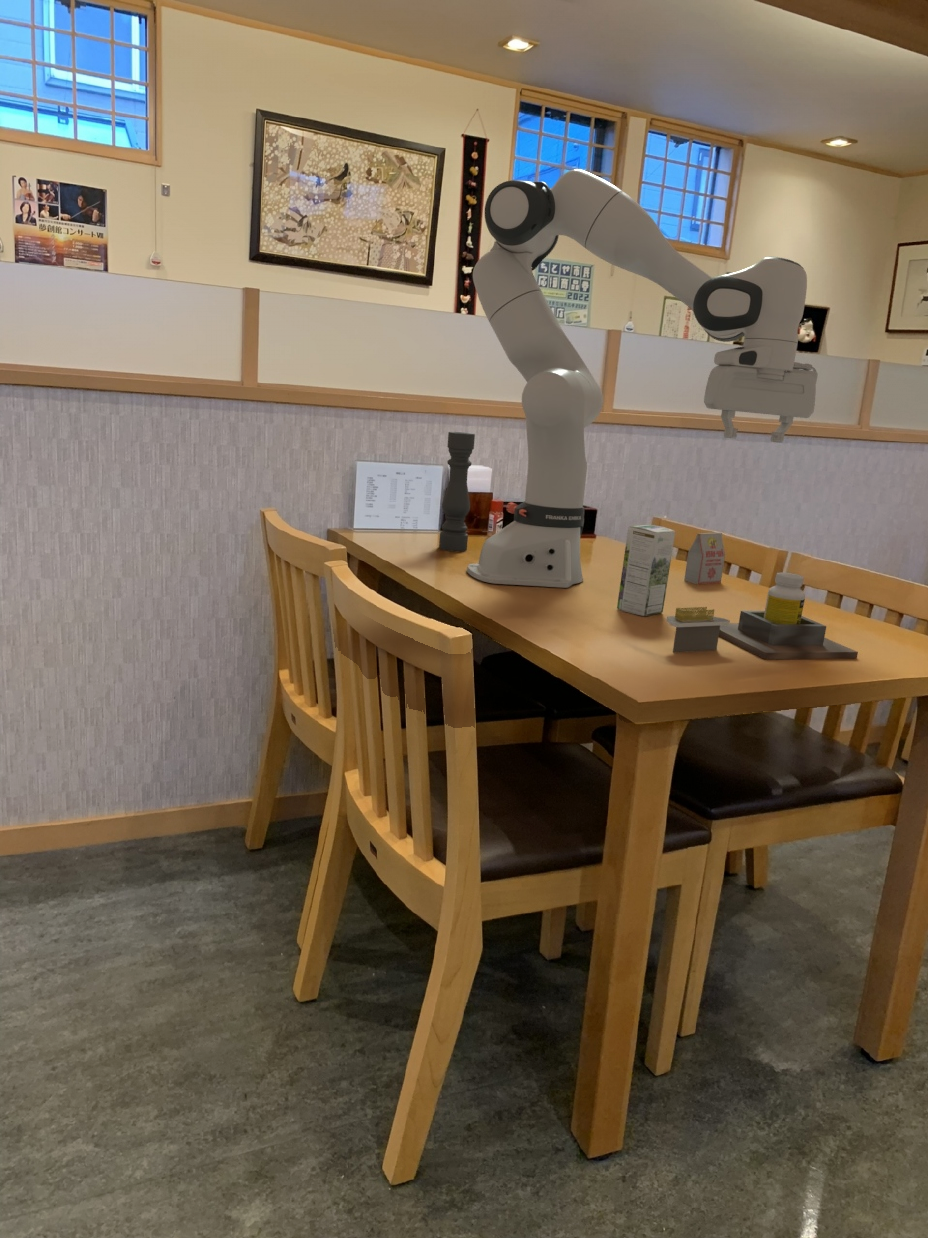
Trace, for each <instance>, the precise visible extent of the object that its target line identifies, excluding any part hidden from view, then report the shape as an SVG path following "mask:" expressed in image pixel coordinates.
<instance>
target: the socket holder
mask: <svg viewBox="0 0 928 1238" xmlns="http://www.w3.org/2000/svg"><path fill="white" fill-rule="evenodd" d="M764 613H765V610H740V613H739V620H738V623H737V622H736V623H735V622H730V623H729V625H720V631H719V637H720V638H722V639H724V640H726V641H728V642H729V643H732V644H734V645H736V647H740V648H742V649H743V650H746V652H747V651H748V652H750V653H751V654H753V655H755V656H757V657H759V658H760V659H763V660H823V659H824V660H826V659H827V660H829V659H830V660H832V659H833V660H834V659H835V660H836V659H837V660H838V659H842V660H843V659H844V660H845V659H858V655H859V654H858V653H859V652H858V651H857V650H854V649H852V648H849V647H848V646H845V645H843V644H840V643H838V642H836V641H834V640H830V639H829V638H826V631H827V625H825V624H822V623H820V622H817V621H814V620H812V619H809V618H807V617H805V616H803V615H802V616H801V622H800V624H775V623H773V622H771V621H768V620H766V619H764Z"/></svg>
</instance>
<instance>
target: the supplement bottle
mask: <svg viewBox="0 0 928 1238" xmlns="http://www.w3.org/2000/svg"><path fill="white" fill-rule="evenodd" d="M804 578H805V577H804V576H803V575H801V574H797V573H790V572H777V573H776V575H775V580H774V582H775V585H773V586H771V587H769V590H768V592H767V597H766V601H765V602H766V603H765V608H764V611H765V613H764V619H766V620H768V621H771V622H773V623H775V624H800V622H801V616H803V615H802V614H803V610H804V604H805V600H806V594H805V592H804V591H803V590H802V589H801V587H803V585H804V580H805V579H804Z"/></svg>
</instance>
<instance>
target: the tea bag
mask: <svg viewBox="0 0 928 1238" xmlns="http://www.w3.org/2000/svg"><path fill="white" fill-rule="evenodd" d="M695 537H696V538H694V540H693V543H692V545H691V546H690V548H689V550H688V553H687V559H686V564H685V572H684V573H685V574H684V580H683V581H685V582H689V583H692V584H695V585H706V584H709V585H710V584H721V583H722V577H723V571H724V563H725V558H726V552H725V547H724V541H723V540H724V539H723V533H722V532H705V533H704V532H703V533H701V532H700V533H697V534H696V536H695Z"/></svg>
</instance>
